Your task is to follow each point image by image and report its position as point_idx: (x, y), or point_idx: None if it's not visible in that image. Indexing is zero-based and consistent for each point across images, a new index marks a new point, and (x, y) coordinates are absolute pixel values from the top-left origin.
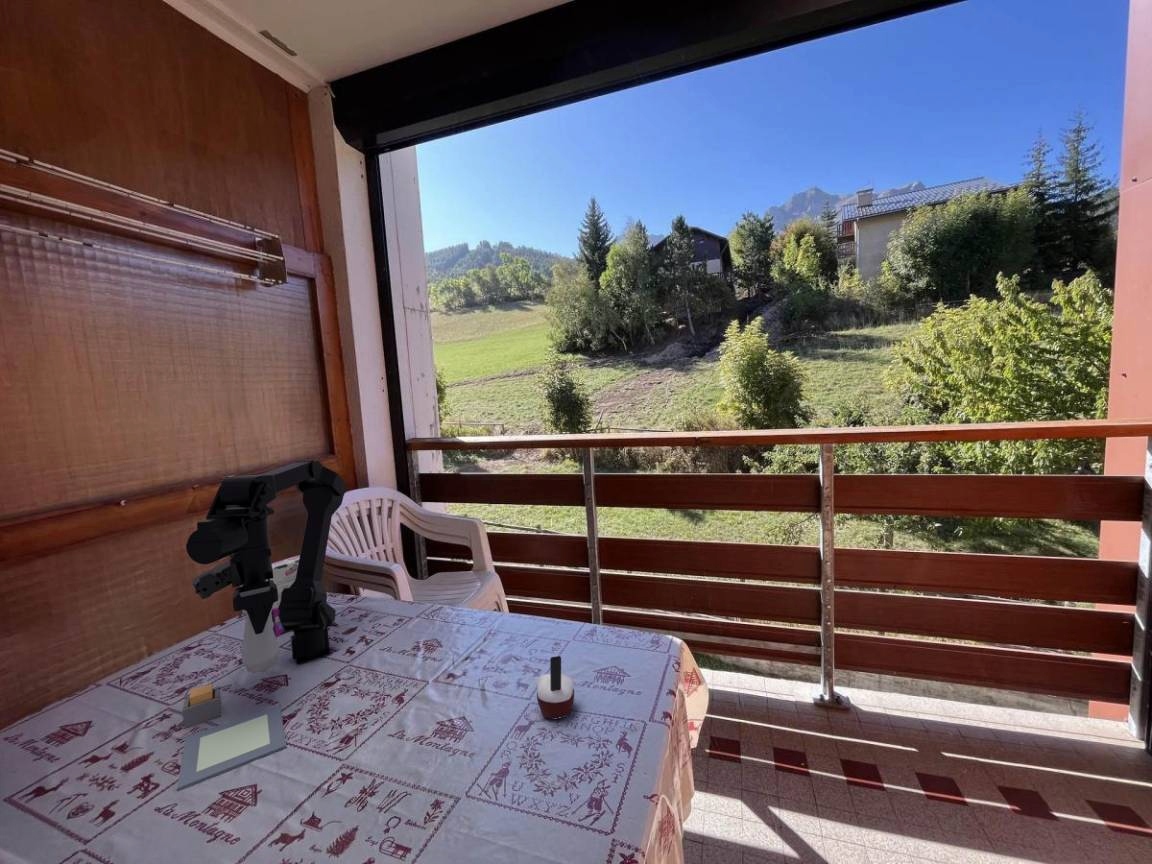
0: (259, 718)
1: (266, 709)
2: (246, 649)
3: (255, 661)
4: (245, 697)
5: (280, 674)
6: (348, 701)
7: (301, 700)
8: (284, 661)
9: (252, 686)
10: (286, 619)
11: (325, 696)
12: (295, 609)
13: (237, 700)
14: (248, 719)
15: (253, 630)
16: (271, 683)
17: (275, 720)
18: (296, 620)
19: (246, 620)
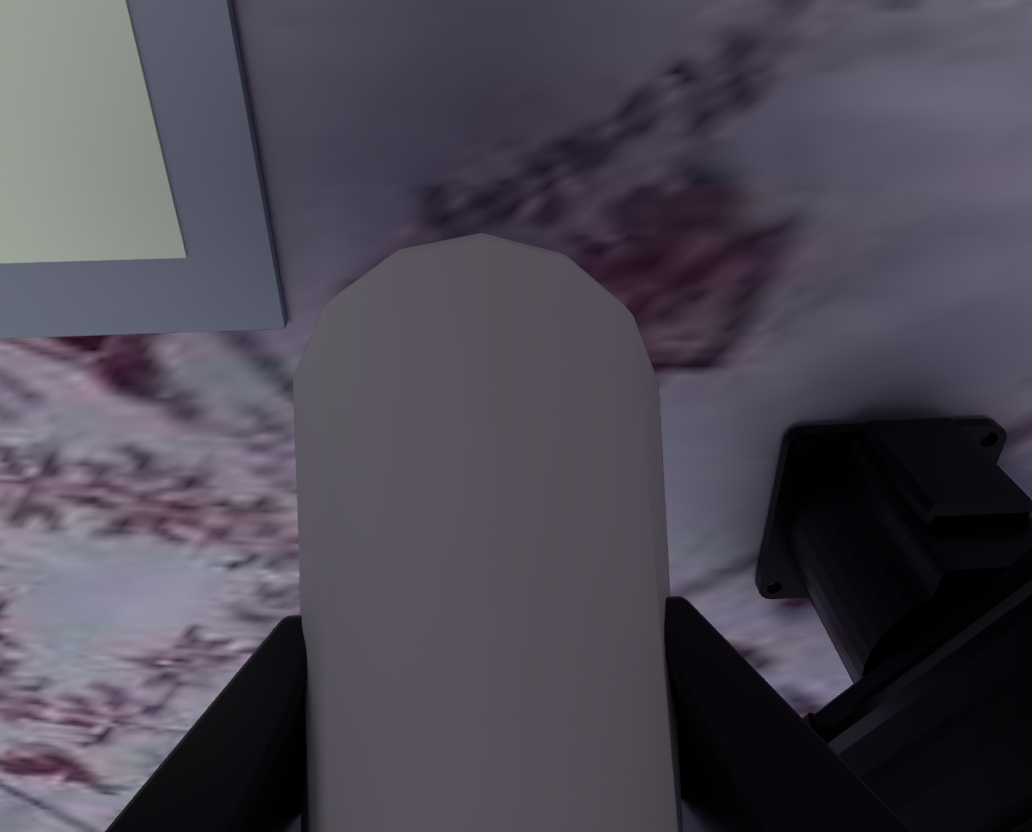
0: (156, 212)
1: (264, 253)
2: (361, 372)
3: (295, 376)
4: (586, 113)
5: (751, 332)
6: (135, 611)
7: (291, 427)
8: (932, 359)
9: (727, 159)
10: (1008, 670)
11: (258, 530)
12: (996, 826)
13: (582, 57)
14: (189, 143)
15: (313, 640)
16: (663, 279)
17: (84, 300)
18: (917, 717)
19: (461, 706)
